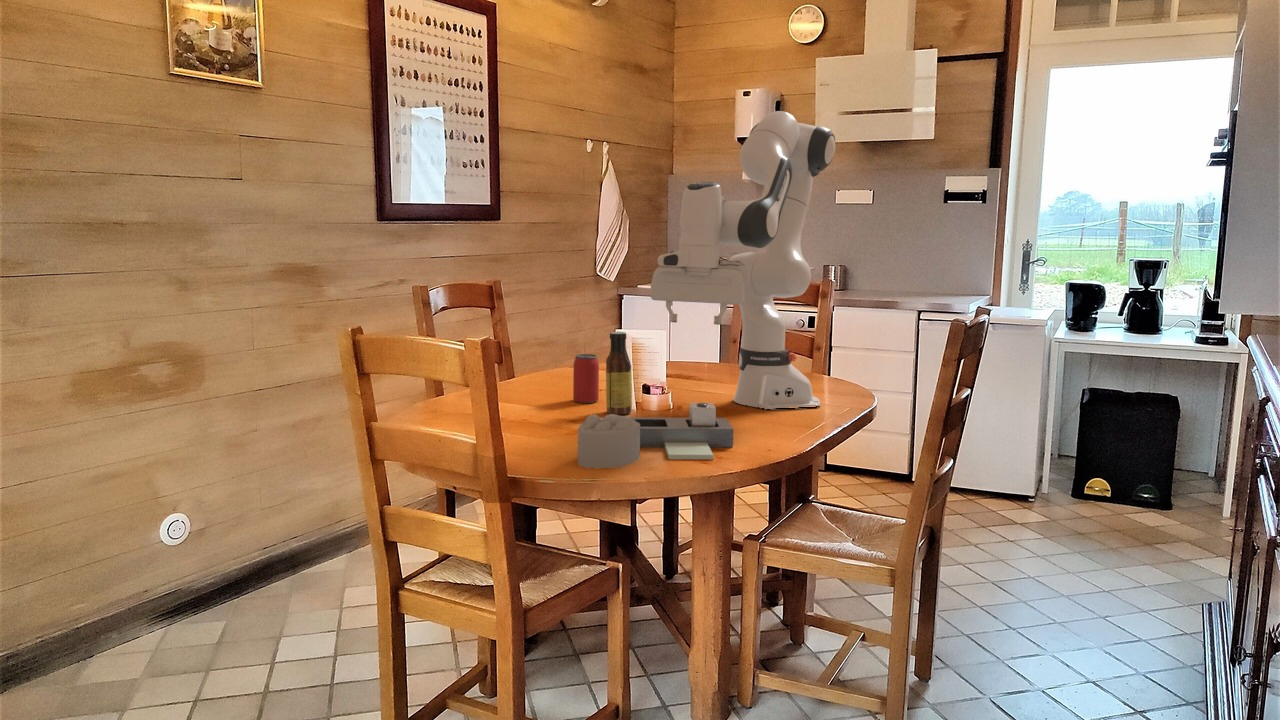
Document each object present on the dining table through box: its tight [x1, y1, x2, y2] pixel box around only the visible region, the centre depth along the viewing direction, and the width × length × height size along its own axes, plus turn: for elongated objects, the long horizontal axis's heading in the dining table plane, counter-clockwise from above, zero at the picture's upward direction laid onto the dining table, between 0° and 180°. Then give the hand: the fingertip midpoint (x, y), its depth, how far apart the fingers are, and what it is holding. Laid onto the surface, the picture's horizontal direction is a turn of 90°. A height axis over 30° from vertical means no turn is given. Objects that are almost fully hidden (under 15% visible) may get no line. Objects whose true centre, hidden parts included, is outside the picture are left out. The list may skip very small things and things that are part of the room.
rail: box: [628, 416, 734, 448], centre depth 184 cm, size 24×10×4 cm, turn 94°
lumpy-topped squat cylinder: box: [577, 413, 641, 469], centre depth 169 cm, size 10×13×9 cm
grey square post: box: [688, 402, 717, 427], centre depth 184 cm, size 5×5×8 cm
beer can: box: [572, 353, 600, 404], centre depth 221 cm, size 7×7×12 cm
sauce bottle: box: [605, 331, 633, 416], centre depth 208 cm, size 7×6×20 cm
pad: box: [663, 443, 714, 460], centre depth 175 cm, size 9×9×1 cm
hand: (695, 323), depth 185 cm, fingers open, 8 cm apart
